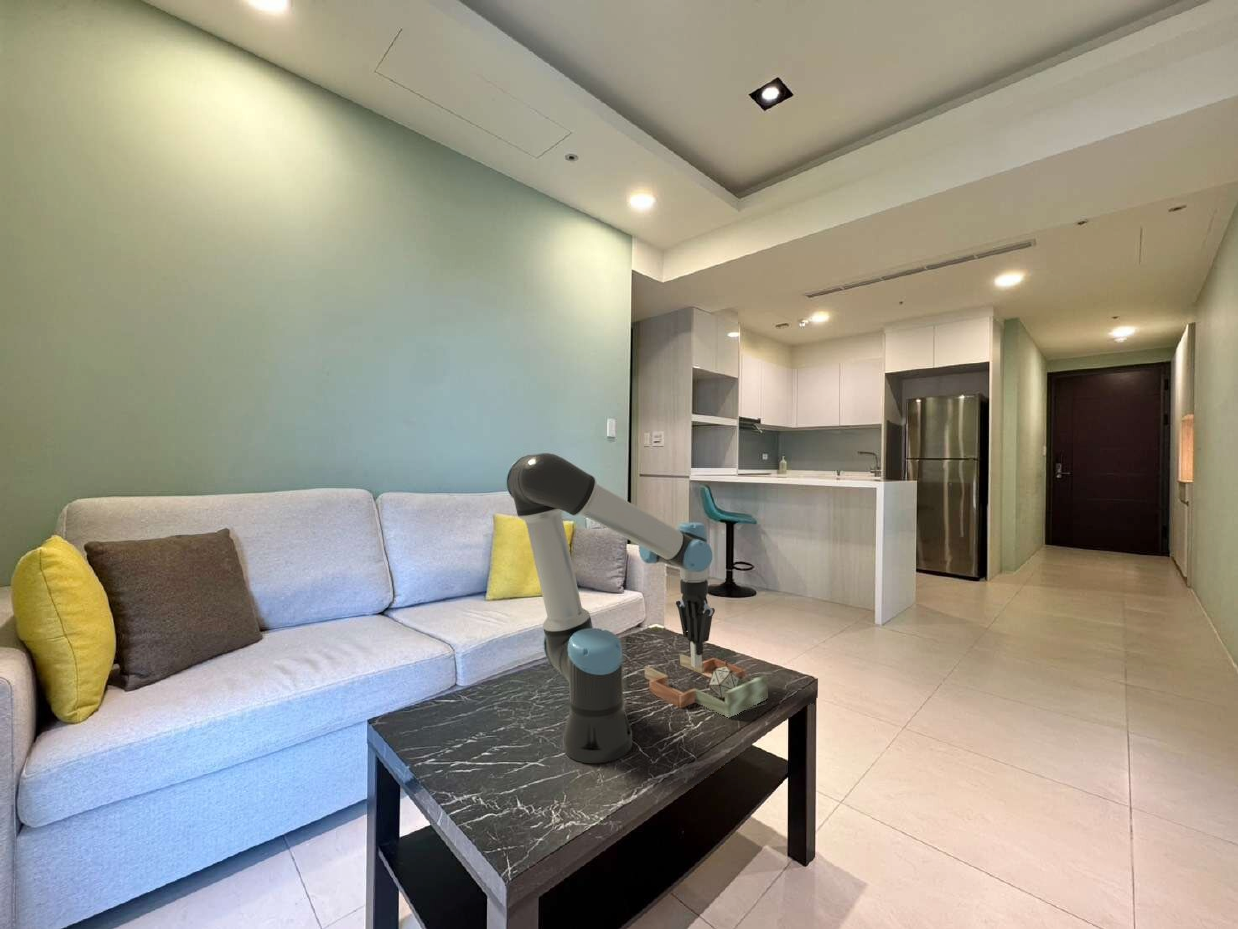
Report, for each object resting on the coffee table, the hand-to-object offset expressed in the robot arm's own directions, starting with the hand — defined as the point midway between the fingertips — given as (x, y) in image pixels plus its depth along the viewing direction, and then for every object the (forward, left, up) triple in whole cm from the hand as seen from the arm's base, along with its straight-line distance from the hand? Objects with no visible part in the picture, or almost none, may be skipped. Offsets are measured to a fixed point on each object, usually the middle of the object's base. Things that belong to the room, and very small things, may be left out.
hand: (696, 665), depth 136 cm
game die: (0, -10, -6) cm, 11 cm away
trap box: (0, -2, -6) cm, 6 cm away
